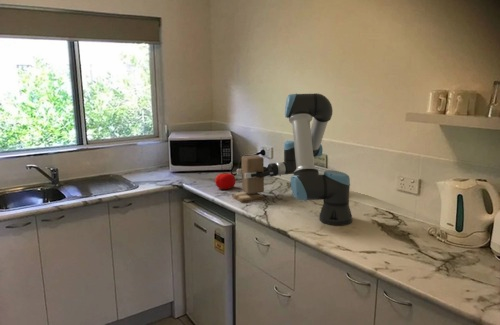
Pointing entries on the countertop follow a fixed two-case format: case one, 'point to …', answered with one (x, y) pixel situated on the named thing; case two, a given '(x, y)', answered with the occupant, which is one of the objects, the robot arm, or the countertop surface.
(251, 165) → the block
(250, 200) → the trivet
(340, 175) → the robot arm
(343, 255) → the countertop surface
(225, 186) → the tomato
